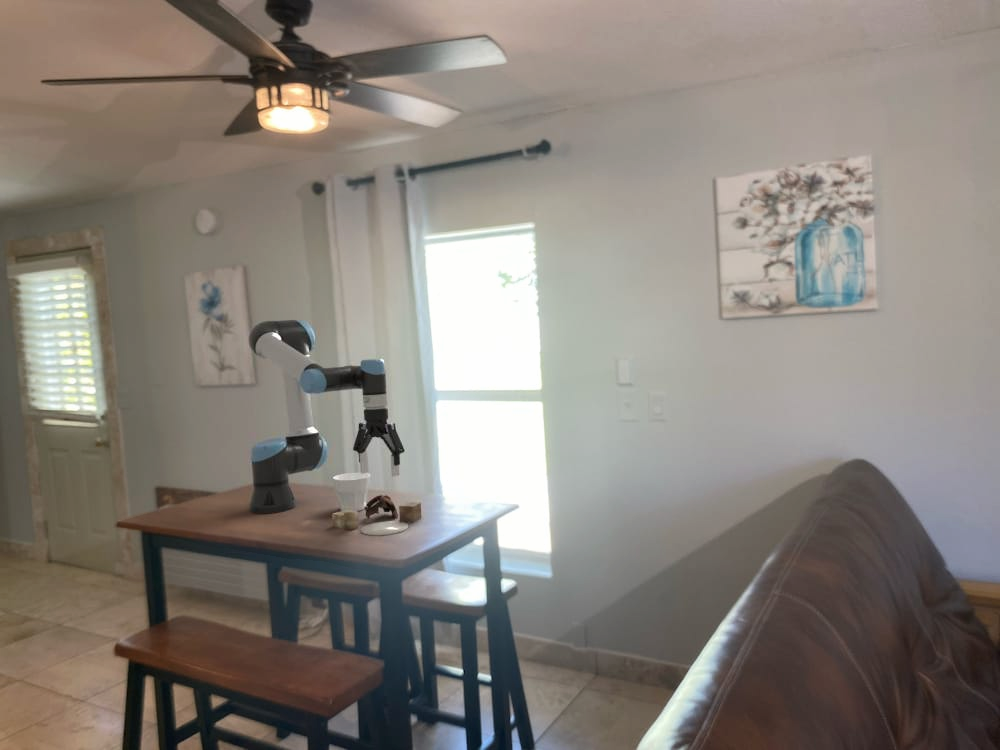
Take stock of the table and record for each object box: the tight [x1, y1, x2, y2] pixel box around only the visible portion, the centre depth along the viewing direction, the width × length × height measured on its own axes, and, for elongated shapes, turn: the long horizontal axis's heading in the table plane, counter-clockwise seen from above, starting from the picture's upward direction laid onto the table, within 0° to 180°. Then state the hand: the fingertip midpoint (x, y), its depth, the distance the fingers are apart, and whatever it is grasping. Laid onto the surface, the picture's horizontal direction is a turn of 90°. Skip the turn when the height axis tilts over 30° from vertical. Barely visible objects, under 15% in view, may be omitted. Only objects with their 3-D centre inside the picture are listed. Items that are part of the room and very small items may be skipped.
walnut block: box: [398, 501, 422, 523], centre depth 227 cm, size 5×5×5 cm
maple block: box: [332, 510, 351, 529], centre depth 225 cm, size 4×6×4 cm, turn 135°
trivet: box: [360, 520, 409, 537], centre depth 218 cm, size 14×14×1 cm
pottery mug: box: [363, 494, 399, 520], centre depth 232 cm, size 12×10×8 cm
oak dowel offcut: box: [344, 510, 359, 531], centre depth 220 cm, size 4×4×5 cm
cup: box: [332, 472, 371, 512], centre depth 245 cm, size 12×12×11 cm
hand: (379, 474), depth 231 cm, fingers open, 13 cm apart
